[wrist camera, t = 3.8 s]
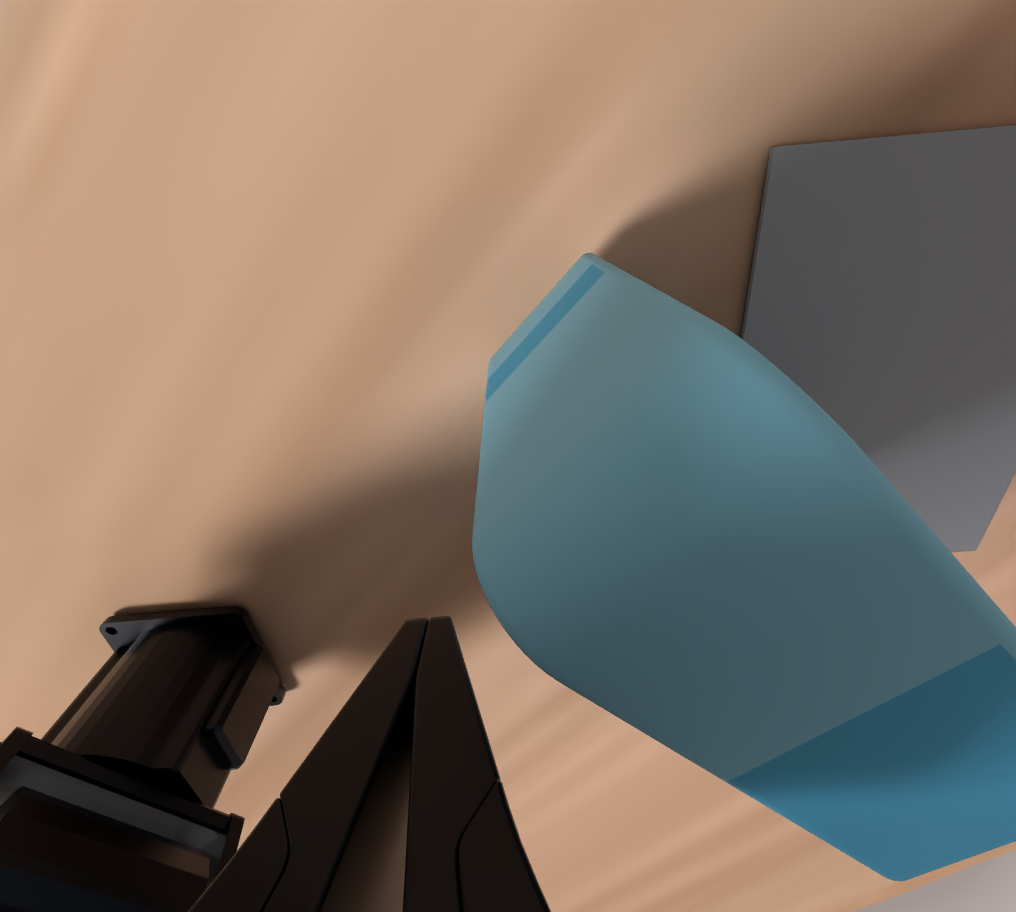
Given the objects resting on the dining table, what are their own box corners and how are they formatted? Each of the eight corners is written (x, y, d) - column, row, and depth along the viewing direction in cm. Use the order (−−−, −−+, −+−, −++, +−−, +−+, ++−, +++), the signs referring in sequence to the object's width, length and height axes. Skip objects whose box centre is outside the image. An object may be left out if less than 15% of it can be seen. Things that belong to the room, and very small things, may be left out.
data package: (486, 351, 16) (453, 631, 6) (580, 243, 15) (783, 349, 4) (701, 535, 20) (923, 907, 9) (794, 465, 18) (1187, 819, 8)
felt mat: (704, 569, 21) (706, 572, 21) (770, 146, 14) (774, 146, 13) (971, 547, 21) (976, 550, 21) (1189, 109, 13) (1198, 108, 13)
